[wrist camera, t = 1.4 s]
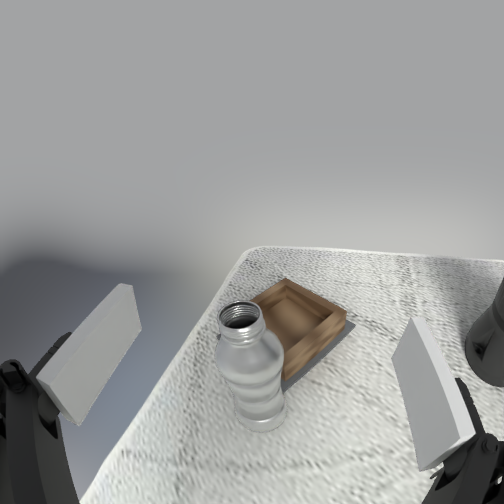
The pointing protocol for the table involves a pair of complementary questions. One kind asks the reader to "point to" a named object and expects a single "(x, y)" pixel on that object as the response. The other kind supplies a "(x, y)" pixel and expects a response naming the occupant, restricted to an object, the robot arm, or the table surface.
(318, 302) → the wooden tray
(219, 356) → the plastic bottle
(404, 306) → the table surface
